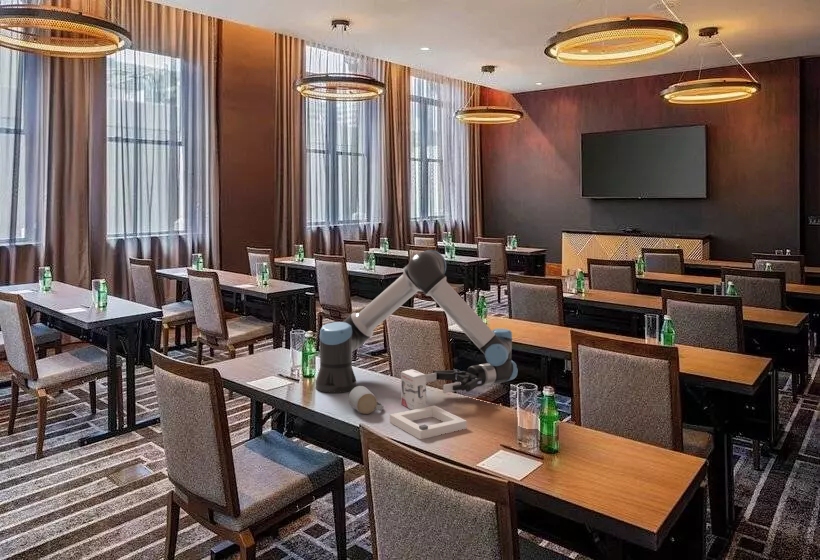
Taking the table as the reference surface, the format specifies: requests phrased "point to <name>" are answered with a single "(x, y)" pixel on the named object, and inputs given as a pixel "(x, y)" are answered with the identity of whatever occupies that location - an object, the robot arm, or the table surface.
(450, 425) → the socket plate
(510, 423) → the table surface
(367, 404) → the ceramic mug
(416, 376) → the ink box
